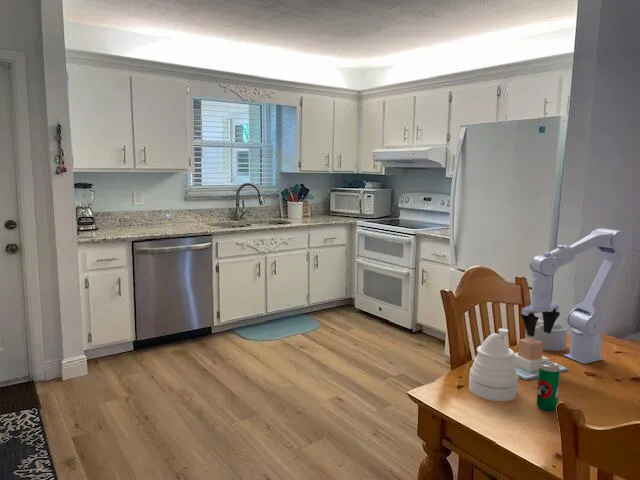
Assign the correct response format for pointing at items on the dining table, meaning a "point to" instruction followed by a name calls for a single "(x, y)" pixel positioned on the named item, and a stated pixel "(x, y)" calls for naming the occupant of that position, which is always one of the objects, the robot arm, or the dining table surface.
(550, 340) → the lumpy-topped squat cylinder
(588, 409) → the dining table surface
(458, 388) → the dining table surface
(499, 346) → the honey pot
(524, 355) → the terracotta block
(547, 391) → the soda can
